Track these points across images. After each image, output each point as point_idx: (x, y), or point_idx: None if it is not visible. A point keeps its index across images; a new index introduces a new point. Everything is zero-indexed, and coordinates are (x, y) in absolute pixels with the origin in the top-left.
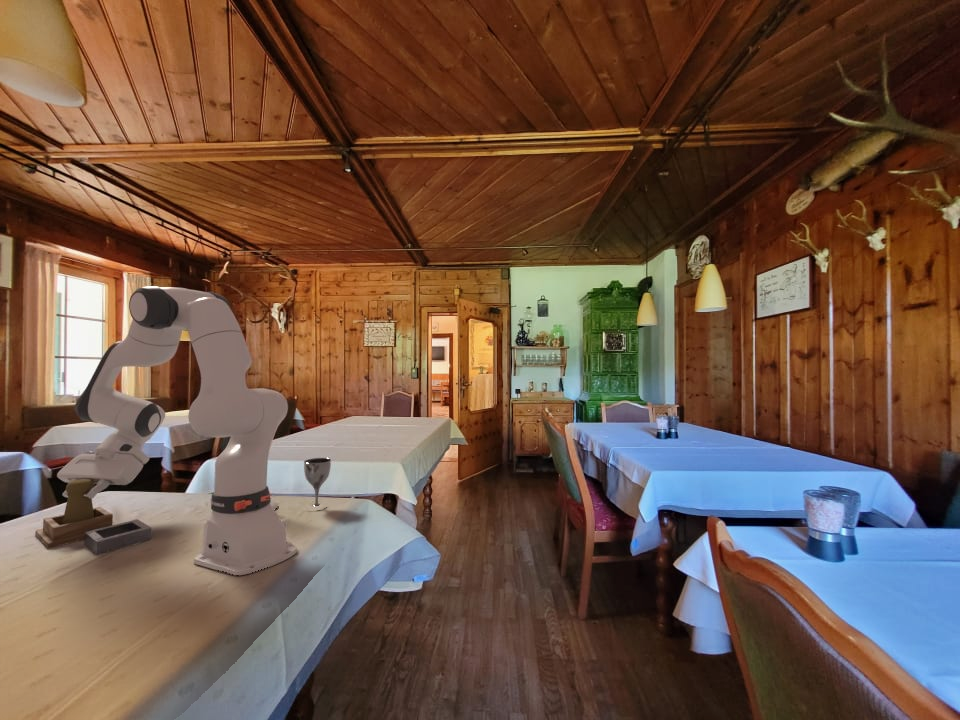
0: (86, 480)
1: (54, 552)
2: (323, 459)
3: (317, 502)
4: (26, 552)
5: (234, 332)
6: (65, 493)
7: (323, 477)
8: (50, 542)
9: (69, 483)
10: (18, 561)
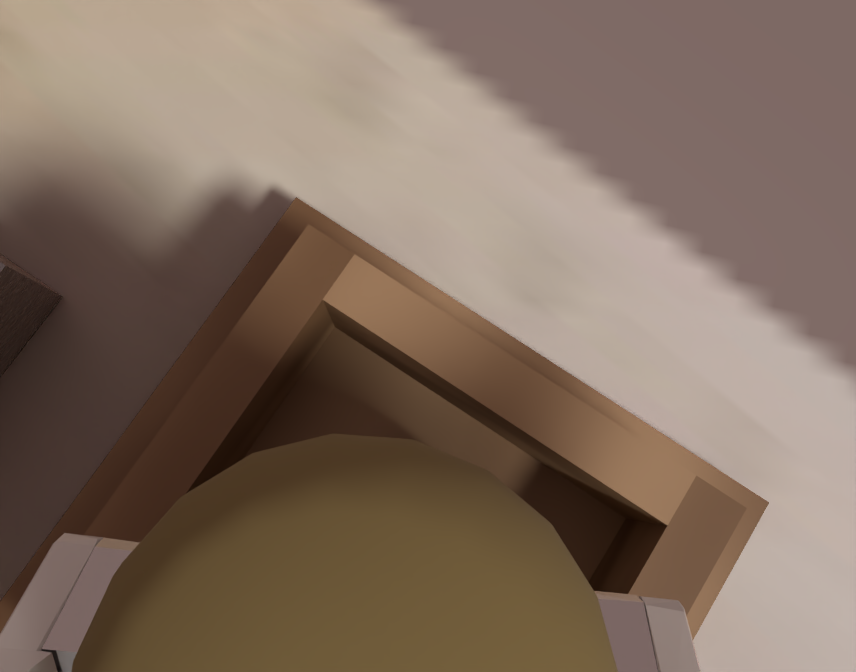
0: None
1: (170, 144)
2: None
3: None
4: (406, 145)
5: None
6: (612, 599)
7: None
8: (297, 217)
9: (456, 513)
10: (295, 2)
